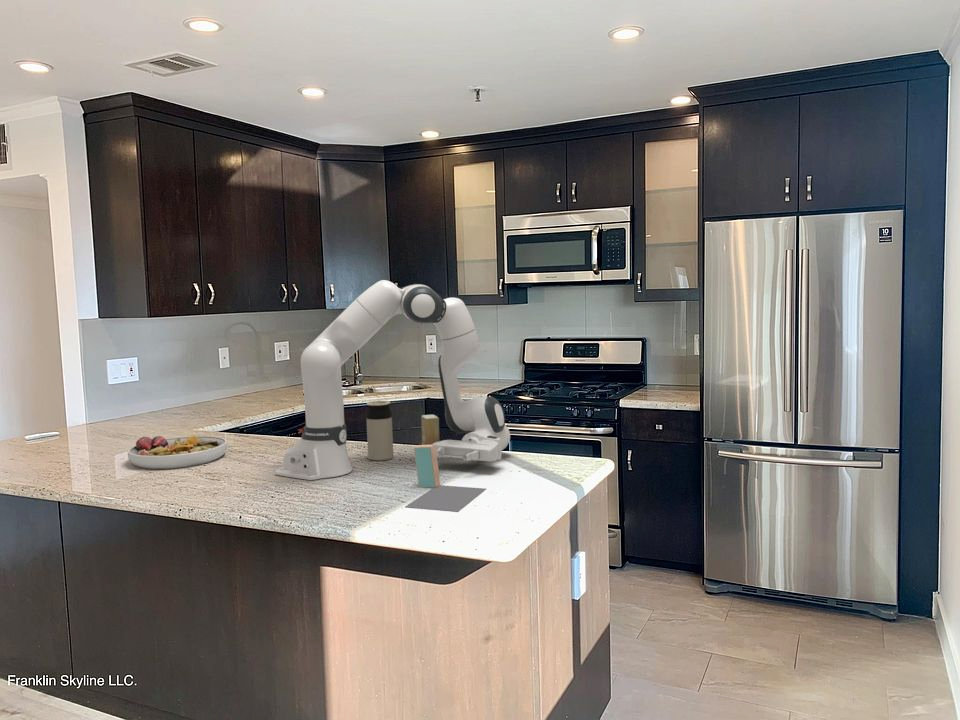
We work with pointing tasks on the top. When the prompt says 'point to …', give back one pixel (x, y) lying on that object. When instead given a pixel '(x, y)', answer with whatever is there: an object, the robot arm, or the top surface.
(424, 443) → the skincare box
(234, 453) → the top surface
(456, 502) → the mat
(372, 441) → the travel mug
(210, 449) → the bowl
